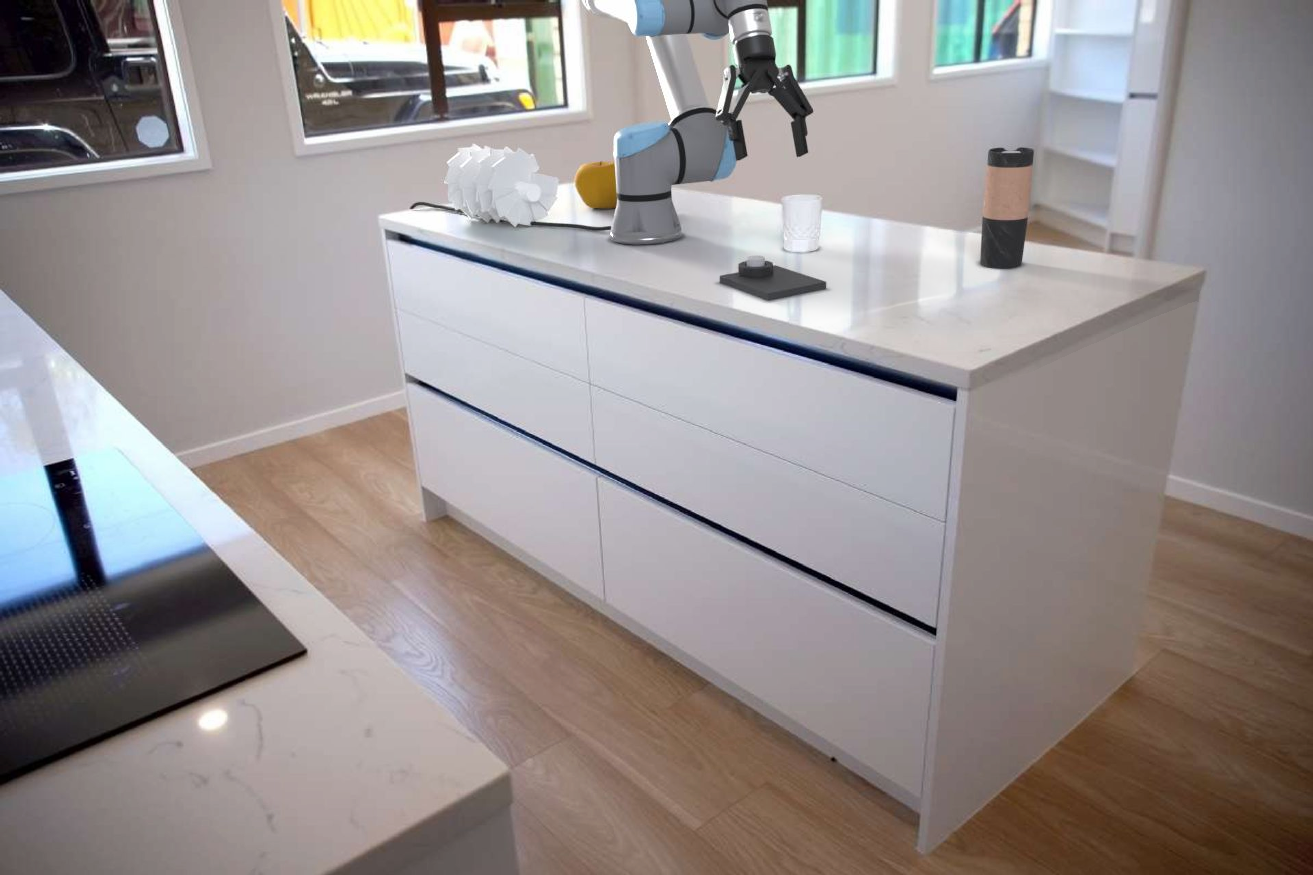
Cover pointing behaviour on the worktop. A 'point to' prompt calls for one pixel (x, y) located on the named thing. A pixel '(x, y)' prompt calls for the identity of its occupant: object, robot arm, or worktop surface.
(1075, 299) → the worktop surface
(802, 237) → the white cup
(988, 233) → the travel mug
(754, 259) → the button
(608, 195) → the apple
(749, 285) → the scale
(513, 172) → the spiral staircase
